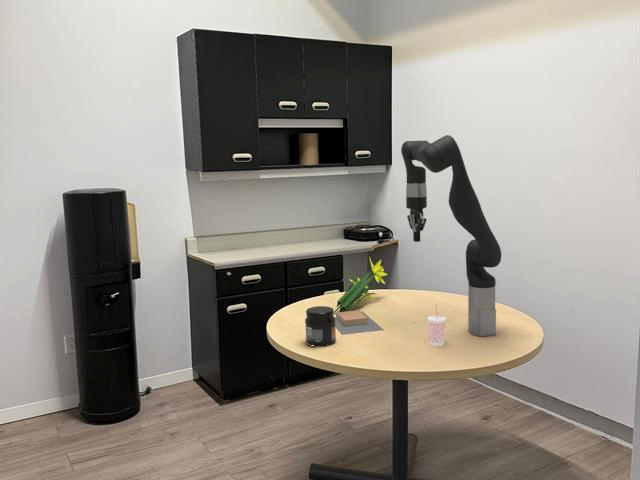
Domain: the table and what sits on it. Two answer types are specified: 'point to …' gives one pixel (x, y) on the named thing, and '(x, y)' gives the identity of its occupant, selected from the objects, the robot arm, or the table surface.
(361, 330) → the felt mat
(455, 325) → the table surface
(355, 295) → the daffodil flowers
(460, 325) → the table surface
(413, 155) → the robot arm
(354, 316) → the tile
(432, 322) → the beverage cup
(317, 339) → the supplement container
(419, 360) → the table surface
